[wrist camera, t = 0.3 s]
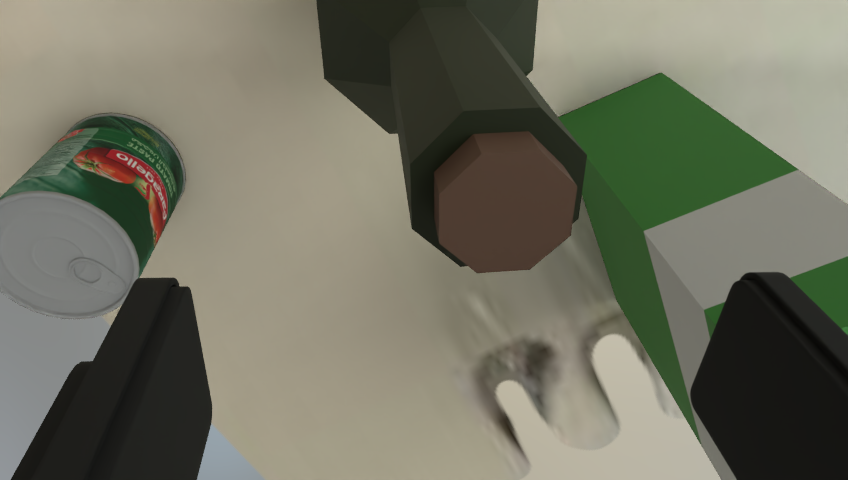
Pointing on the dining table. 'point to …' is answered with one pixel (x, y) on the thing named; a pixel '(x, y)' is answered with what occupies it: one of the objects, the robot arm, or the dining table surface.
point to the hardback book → (698, 223)
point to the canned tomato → (88, 217)
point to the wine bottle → (461, 121)
